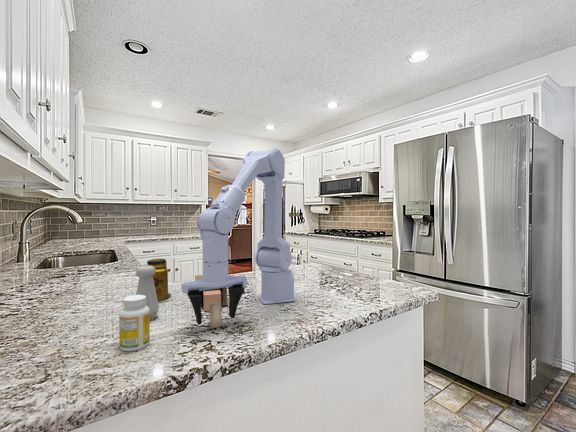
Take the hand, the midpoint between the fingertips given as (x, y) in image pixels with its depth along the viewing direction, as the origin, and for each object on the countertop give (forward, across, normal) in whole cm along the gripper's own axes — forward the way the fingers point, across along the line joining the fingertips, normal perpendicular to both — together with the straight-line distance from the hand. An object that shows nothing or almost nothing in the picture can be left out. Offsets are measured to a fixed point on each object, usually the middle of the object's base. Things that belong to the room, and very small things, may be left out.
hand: (215, 319), depth 68 cm
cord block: (+2, -1, -7) cm, 7 cm away
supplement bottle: (+2, +17, +1) cm, 17 cm away
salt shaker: (+2, +14, -13) cm, 19 cm away
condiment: (+2, +10, -30) cm, 31 cm away
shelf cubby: (+2, -4, -20) cm, 21 cm away
